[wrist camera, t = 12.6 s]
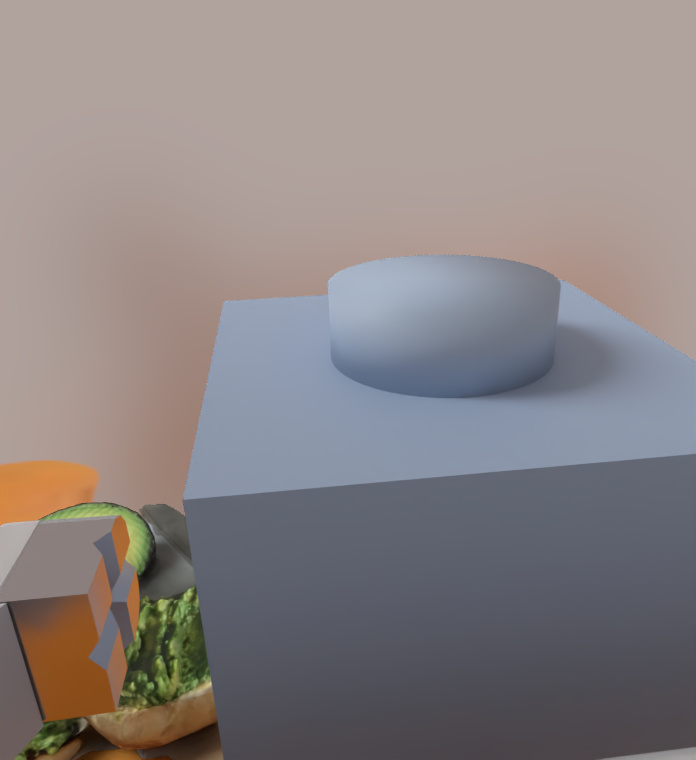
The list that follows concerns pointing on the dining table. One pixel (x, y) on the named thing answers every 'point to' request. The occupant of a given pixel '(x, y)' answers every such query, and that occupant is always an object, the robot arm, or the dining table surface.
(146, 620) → the salad plate
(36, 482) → the dining table surface
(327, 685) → the blue brick
